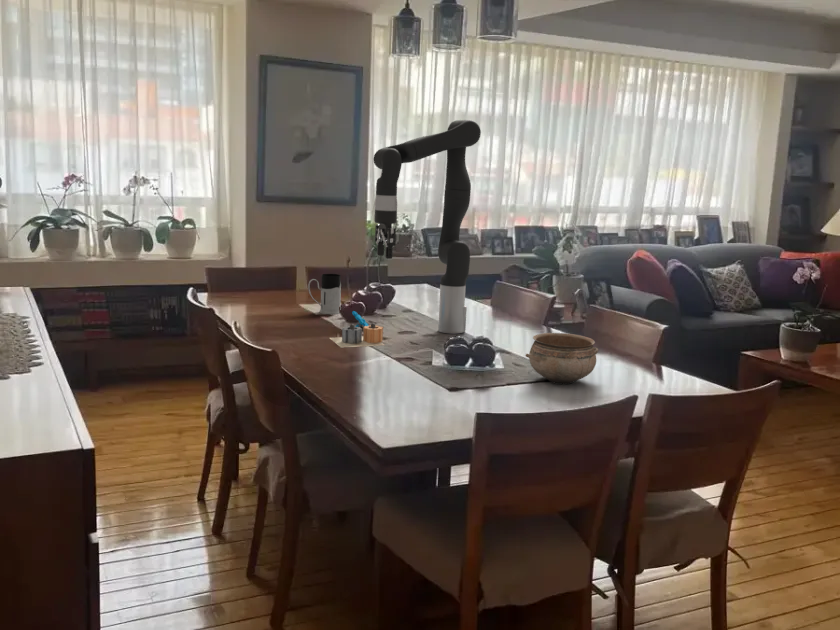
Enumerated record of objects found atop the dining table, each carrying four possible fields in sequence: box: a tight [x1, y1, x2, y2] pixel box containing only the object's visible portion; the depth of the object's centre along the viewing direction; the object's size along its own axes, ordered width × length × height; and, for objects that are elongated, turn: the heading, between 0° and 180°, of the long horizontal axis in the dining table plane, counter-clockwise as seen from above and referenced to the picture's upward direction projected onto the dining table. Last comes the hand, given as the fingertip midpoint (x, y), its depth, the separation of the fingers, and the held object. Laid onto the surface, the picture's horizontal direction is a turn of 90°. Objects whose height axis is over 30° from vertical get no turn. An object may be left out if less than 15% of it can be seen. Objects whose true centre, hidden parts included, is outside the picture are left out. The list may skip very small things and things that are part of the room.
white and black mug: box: [307, 273, 342, 315], centre depth 303 cm, size 9×14×15 cm, turn 124°
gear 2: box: [362, 324, 384, 343], centre depth 254 cm, size 6×6×4 cm
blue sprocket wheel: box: [351, 310, 370, 328], centre depth 272 cm, size 11×6×10 cm
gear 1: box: [341, 326, 363, 344], centre depth 251 cm, size 6×6×4 cm
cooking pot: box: [524, 332, 599, 385], centre depth 218 cm, size 25×19×12 cm
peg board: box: [329, 322, 385, 349], centre depth 252 cm, size 15×14×7 cm
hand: (384, 256), depth 260 cm, fingers open, 8 cm apart
